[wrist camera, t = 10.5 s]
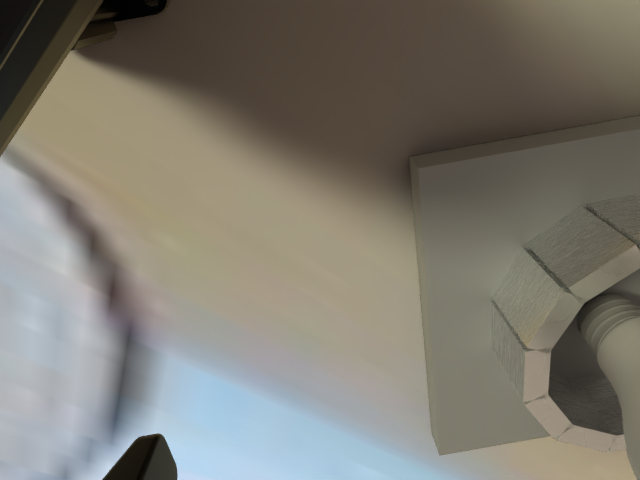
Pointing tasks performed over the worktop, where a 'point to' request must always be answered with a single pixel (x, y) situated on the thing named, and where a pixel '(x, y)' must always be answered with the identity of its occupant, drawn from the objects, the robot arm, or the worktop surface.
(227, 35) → the worktop surface
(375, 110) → the worktop surface
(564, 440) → the socket collar
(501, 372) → the socket plate
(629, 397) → the lightbulb
